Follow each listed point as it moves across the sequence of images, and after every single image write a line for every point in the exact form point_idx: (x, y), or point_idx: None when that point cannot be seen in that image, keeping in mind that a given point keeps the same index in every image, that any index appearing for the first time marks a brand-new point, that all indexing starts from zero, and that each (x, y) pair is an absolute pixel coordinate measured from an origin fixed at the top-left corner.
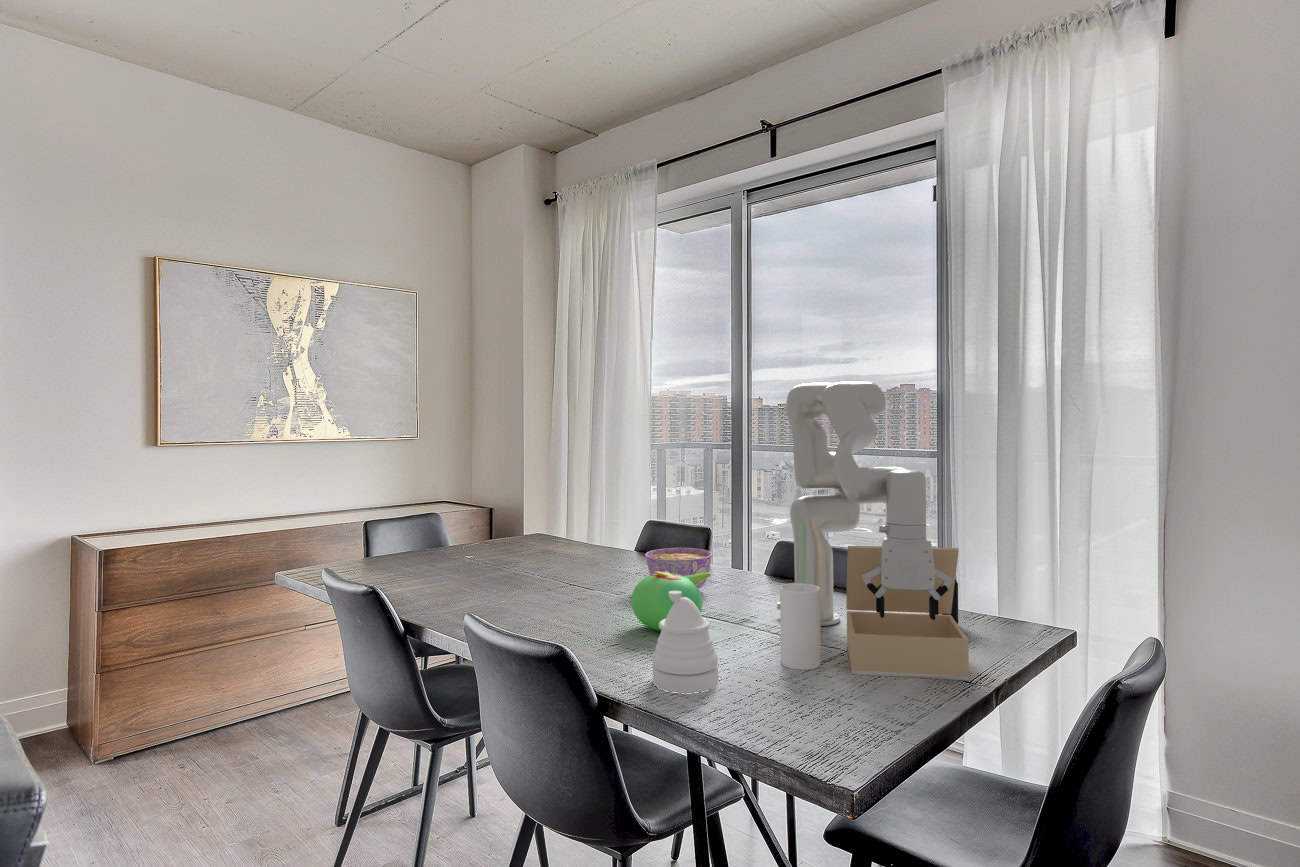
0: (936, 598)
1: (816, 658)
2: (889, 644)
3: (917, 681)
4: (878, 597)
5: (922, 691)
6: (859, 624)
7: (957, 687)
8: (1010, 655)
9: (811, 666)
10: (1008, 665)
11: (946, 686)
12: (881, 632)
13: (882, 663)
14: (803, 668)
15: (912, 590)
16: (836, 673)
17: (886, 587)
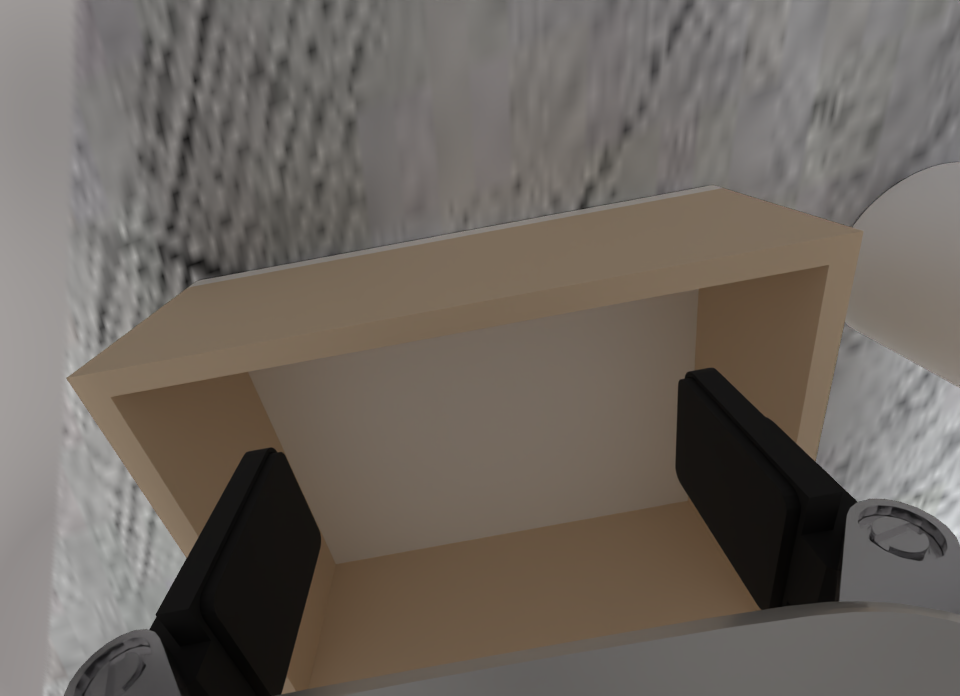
0: (142, 653)
1: (900, 223)
2: (578, 263)
3: (412, 191)
4: (870, 503)
5: (373, 37)
6: (691, 577)
7: (223, 169)
8: (131, 593)
9: (900, 191)
10: (104, 504)
11: (274, 165)
12: (588, 565)
13: (588, 224)
14: (936, 167)
15: (429, 670)
16: (780, 172)
17: (958, 616)
